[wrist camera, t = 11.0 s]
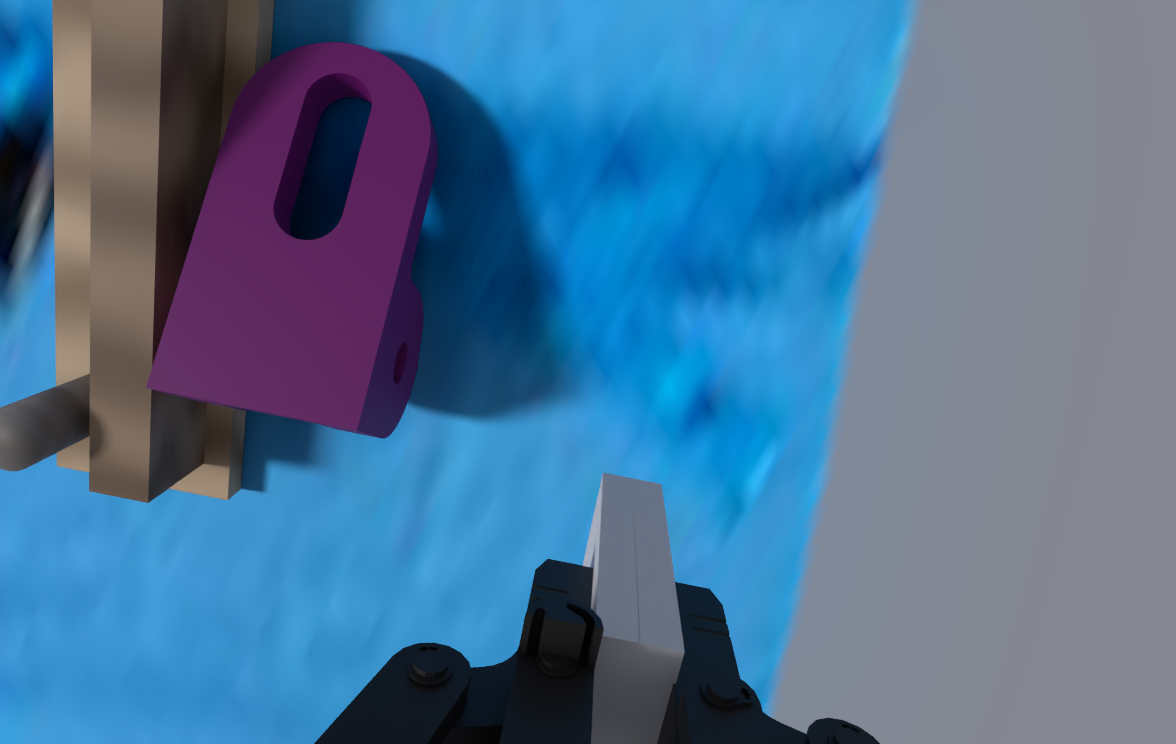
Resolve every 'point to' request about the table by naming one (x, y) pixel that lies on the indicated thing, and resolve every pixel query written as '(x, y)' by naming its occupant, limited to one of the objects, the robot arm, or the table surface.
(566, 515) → the table surface
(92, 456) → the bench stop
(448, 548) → the table surface
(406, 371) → the mounting bracket
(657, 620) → the robot arm
